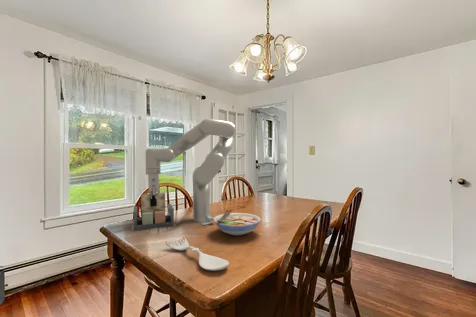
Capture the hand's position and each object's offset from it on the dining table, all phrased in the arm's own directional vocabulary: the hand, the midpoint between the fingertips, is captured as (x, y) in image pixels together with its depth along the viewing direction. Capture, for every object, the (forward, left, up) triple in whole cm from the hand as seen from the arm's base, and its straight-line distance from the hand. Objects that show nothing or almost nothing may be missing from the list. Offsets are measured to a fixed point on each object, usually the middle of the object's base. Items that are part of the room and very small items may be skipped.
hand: (153, 205), depth 126 cm
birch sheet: (0, 0, -10) cm, 10 cm away
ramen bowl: (-47, -2, -11) cm, 48 cm away
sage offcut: (-1, +6, -10) cm, 12 cm away
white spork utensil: (-40, +29, -12) cm, 51 cm away
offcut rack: (-2, +2, -11) cm, 12 cm away
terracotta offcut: (-6, +2, -10) cm, 11 cm away
